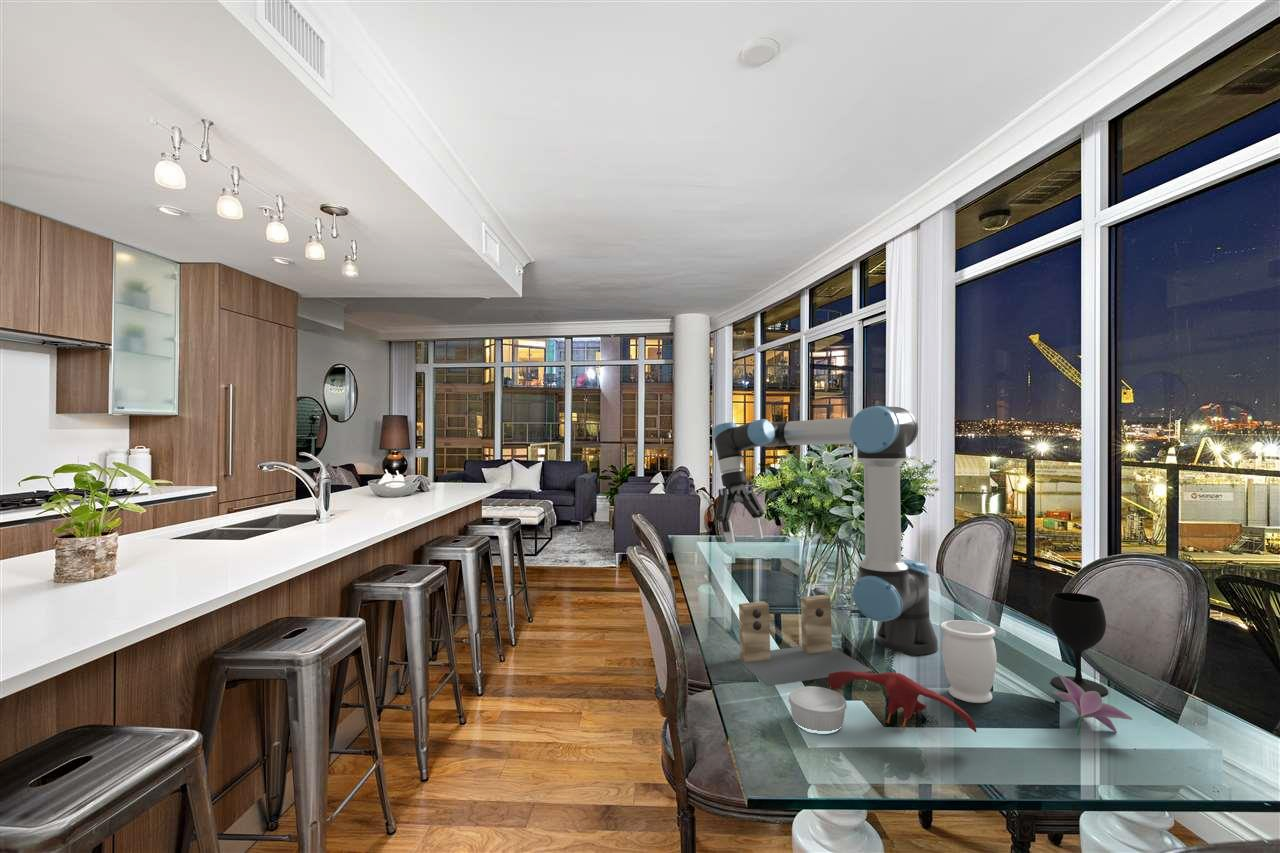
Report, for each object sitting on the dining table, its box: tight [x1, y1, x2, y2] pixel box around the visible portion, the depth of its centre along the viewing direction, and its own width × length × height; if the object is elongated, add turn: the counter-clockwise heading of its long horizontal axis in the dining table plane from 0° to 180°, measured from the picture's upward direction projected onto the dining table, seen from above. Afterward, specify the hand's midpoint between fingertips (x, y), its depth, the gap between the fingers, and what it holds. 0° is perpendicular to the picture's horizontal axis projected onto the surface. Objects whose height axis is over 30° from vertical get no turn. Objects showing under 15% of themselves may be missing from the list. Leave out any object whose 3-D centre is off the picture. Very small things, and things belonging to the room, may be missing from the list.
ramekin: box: [788, 685, 847, 731], centre depth 119 cm, size 11×11×5 cm
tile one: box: [800, 594, 833, 654], centre depth 157 cm, size 3×7×14 cm, turn 105°
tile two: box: [738, 601, 771, 663], centre depth 152 cm, size 3×7×14 cm, turn 105°
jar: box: [941, 619, 997, 704], centre depth 130 cm, size 11×10×15 cm
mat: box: [731, 645, 874, 687], centre depth 149 cm, size 28×20×1 cm
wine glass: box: [1047, 592, 1109, 698], centre depth 133 cm, size 10×10×20 cm
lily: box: [1052, 673, 1133, 736], centre depth 114 cm, size 12×12×10 cm
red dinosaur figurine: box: [827, 671, 978, 733], centre depth 118 cm, size 28×9×15 cm
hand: (745, 541), depth 180 cm, fingers open, 13 cm apart
